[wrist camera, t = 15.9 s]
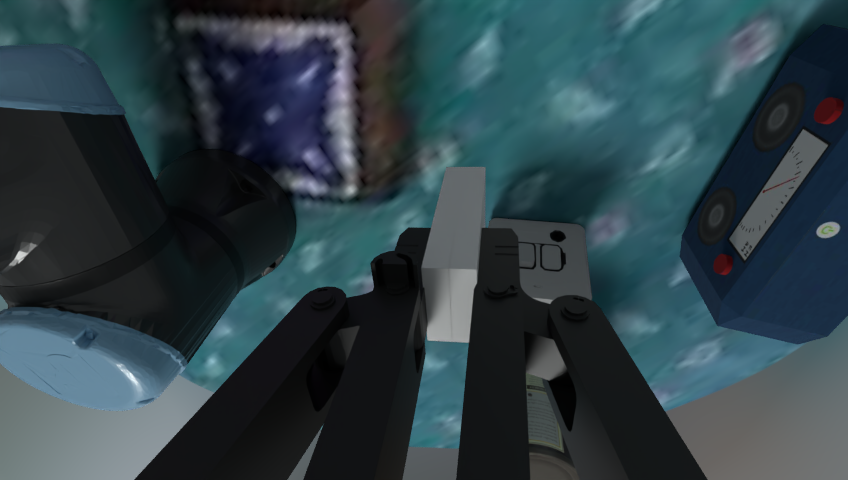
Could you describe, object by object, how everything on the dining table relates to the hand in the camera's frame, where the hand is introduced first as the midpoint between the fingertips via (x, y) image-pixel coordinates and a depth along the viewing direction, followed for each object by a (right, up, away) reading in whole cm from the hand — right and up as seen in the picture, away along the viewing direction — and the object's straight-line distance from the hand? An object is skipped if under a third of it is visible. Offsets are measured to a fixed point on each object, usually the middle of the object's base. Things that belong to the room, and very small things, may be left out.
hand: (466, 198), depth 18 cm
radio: (+28, +5, +21) cm, 36 cm away
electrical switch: (+10, -2, +29) cm, 31 cm away
